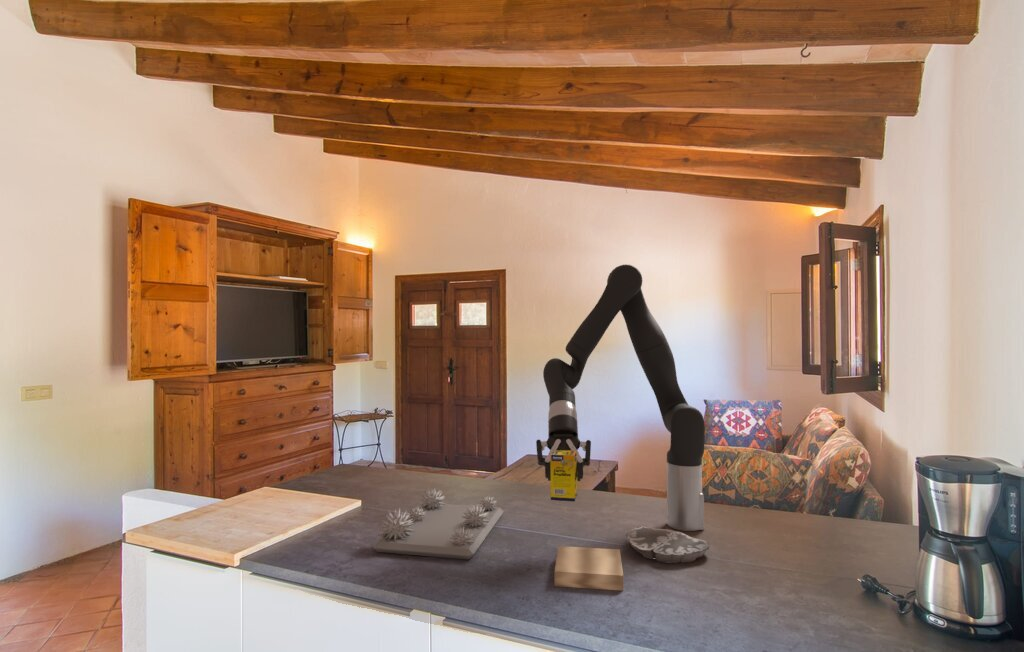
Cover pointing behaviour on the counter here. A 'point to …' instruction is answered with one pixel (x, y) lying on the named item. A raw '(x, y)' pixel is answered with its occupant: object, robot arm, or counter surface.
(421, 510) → the decorative tray
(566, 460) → the supplement box
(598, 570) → the oak base board
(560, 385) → the robot arm
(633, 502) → the counter surface
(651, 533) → the brain slice
